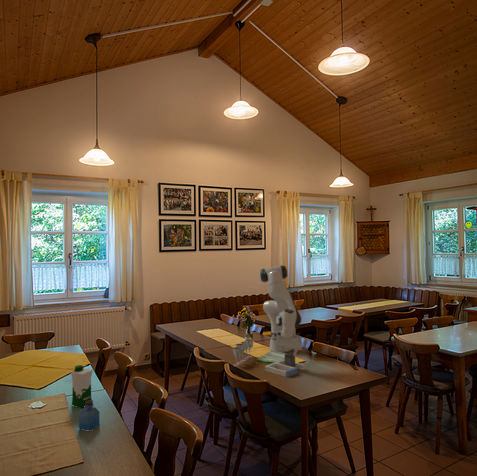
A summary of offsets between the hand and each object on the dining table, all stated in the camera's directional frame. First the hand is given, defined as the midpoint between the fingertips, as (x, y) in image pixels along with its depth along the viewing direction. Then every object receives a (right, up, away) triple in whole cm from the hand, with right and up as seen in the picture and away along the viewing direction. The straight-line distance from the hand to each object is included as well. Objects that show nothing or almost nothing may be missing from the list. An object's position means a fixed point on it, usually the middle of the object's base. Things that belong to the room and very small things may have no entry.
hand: (289, 354), depth 254 cm
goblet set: (-31, -11, +20) cm, 38 cm away
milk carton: (-117, -10, -56) cm, 130 cm away
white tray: (-3, -10, -3) cm, 11 cm away
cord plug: (+1, -10, 0) cm, 10 cm away
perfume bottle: (-103, -9, -82) cm, 132 cm away
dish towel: (-9, -11, +22) cm, 27 cm away
